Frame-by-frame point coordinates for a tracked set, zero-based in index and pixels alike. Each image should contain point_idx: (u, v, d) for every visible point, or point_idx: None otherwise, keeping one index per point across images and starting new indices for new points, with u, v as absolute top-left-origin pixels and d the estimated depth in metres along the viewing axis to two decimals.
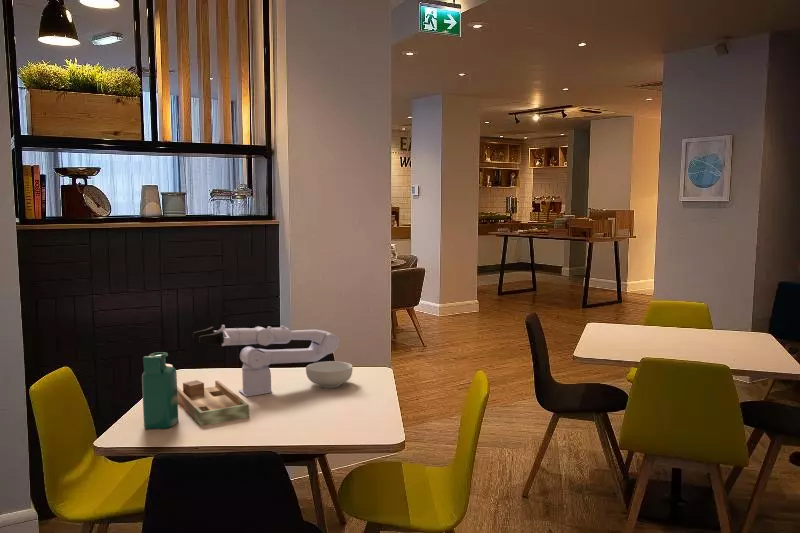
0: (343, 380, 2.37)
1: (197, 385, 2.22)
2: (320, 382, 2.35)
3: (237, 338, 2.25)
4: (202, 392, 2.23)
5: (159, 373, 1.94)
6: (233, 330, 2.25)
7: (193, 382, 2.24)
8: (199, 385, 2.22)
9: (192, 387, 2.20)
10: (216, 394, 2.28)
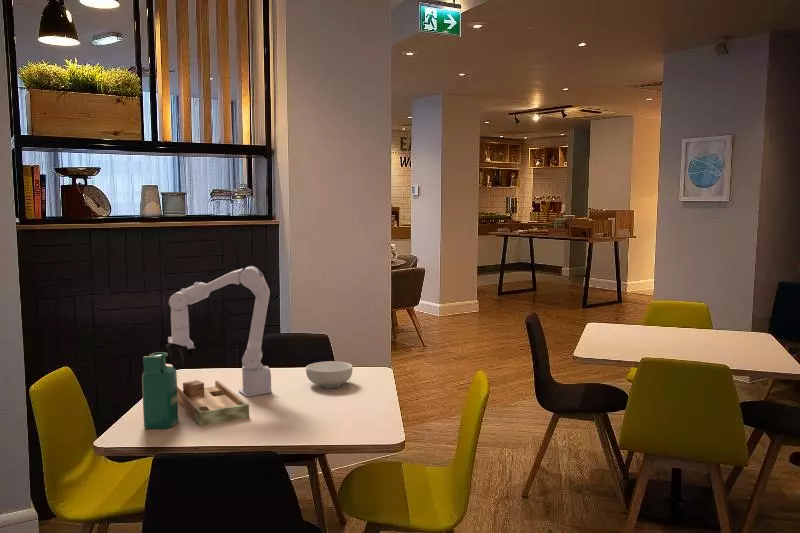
0: (343, 380, 2.37)
1: (197, 385, 2.22)
2: (320, 382, 2.35)
3: (184, 329, 2.25)
4: (202, 392, 2.23)
5: (159, 373, 1.94)
6: (176, 333, 2.25)
7: (193, 382, 2.24)
8: (199, 385, 2.22)
9: (192, 387, 2.20)
10: (216, 394, 2.28)
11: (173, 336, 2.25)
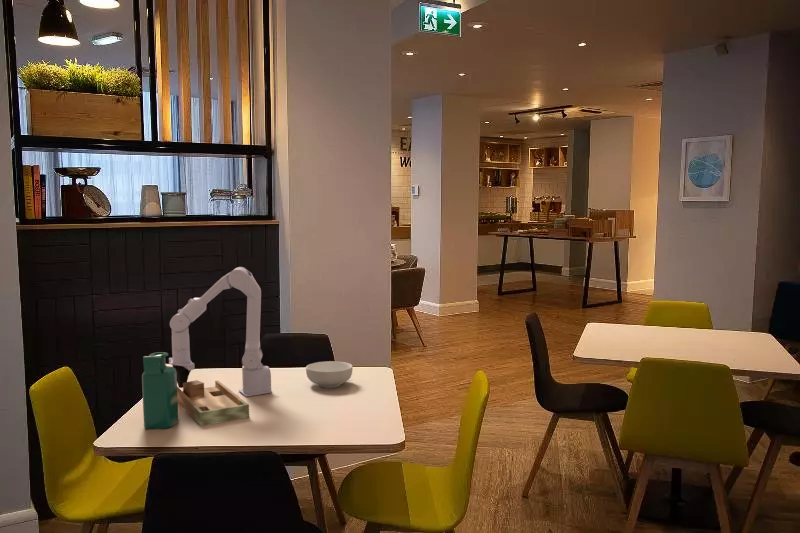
0: (343, 380, 2.37)
1: (197, 385, 2.22)
2: (320, 382, 2.35)
3: (185, 351, 2.26)
4: (202, 392, 2.23)
5: (159, 373, 1.94)
6: (177, 355, 2.25)
7: (193, 382, 2.24)
8: (199, 385, 2.22)
9: (192, 387, 2.20)
10: (216, 394, 2.28)
11: (174, 358, 2.26)
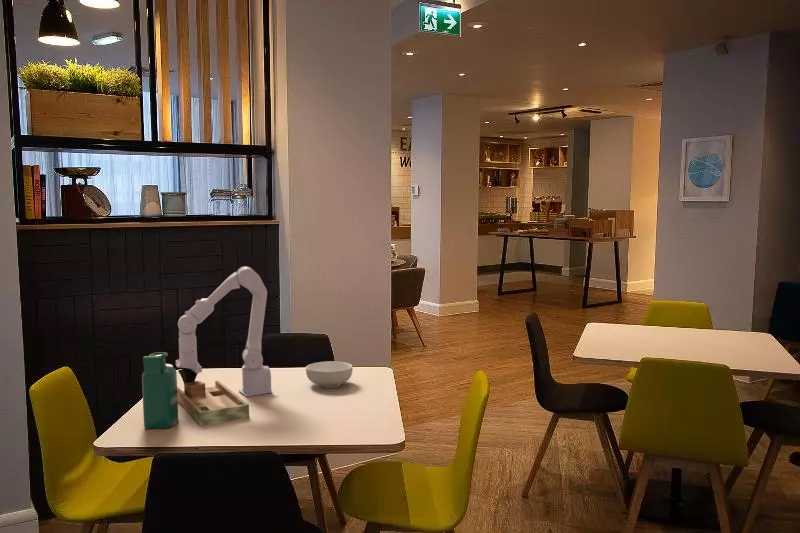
0: (343, 380, 2.37)
1: (198, 386, 2.21)
2: (320, 382, 2.35)
3: (192, 353, 2.23)
4: (203, 393, 2.23)
5: (159, 373, 1.94)
6: (184, 357, 2.22)
7: (194, 383, 2.23)
8: (200, 385, 2.21)
9: (193, 388, 2.20)
10: (216, 394, 2.28)
11: (181, 360, 2.22)
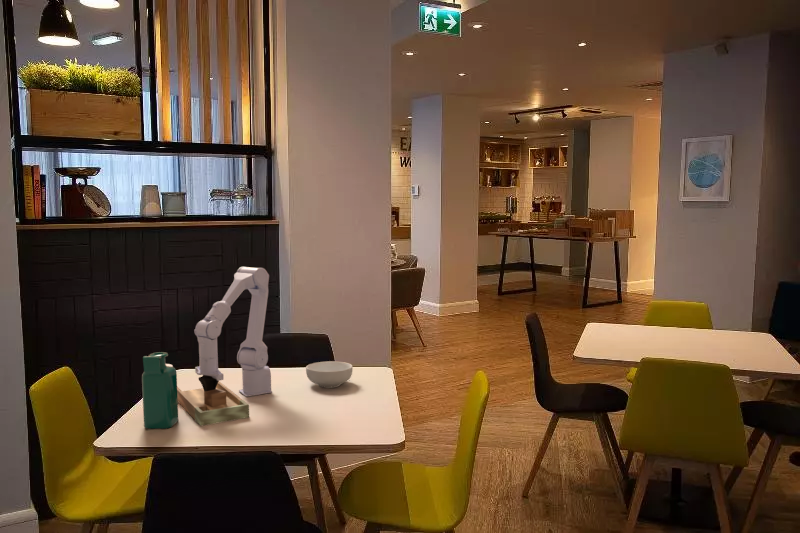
0: (343, 380, 2.37)
1: (219, 394, 2.11)
2: (320, 382, 2.35)
3: (213, 360, 2.13)
4: (224, 401, 2.13)
5: (159, 373, 1.94)
6: (204, 364, 2.12)
7: (215, 391, 2.13)
8: (221, 393, 2.12)
9: (213, 396, 2.10)
10: None
11: (201, 367, 2.13)
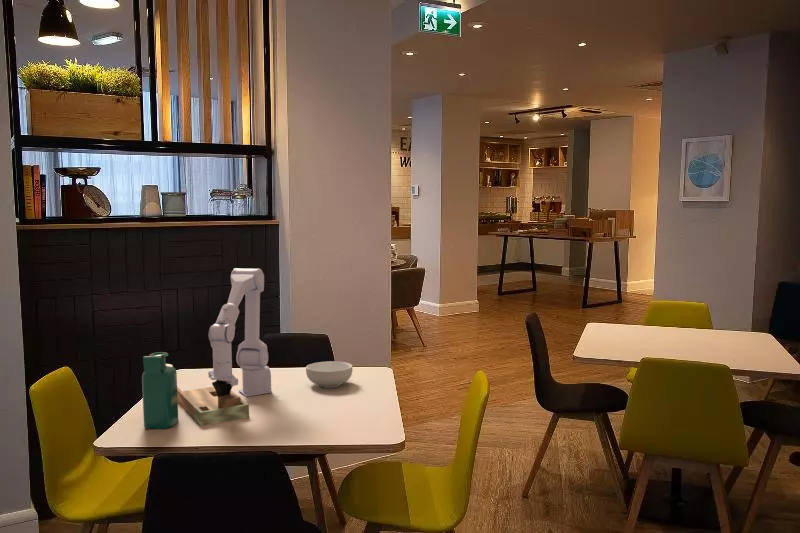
0: (343, 380, 2.37)
1: (233, 399, 2.05)
2: (320, 382, 2.35)
3: (227, 364, 2.07)
4: None
5: (159, 373, 1.94)
6: (218, 369, 2.06)
7: (229, 396, 2.08)
8: (235, 399, 2.06)
9: (228, 402, 2.04)
10: (216, 394, 2.28)
11: (215, 372, 2.07)
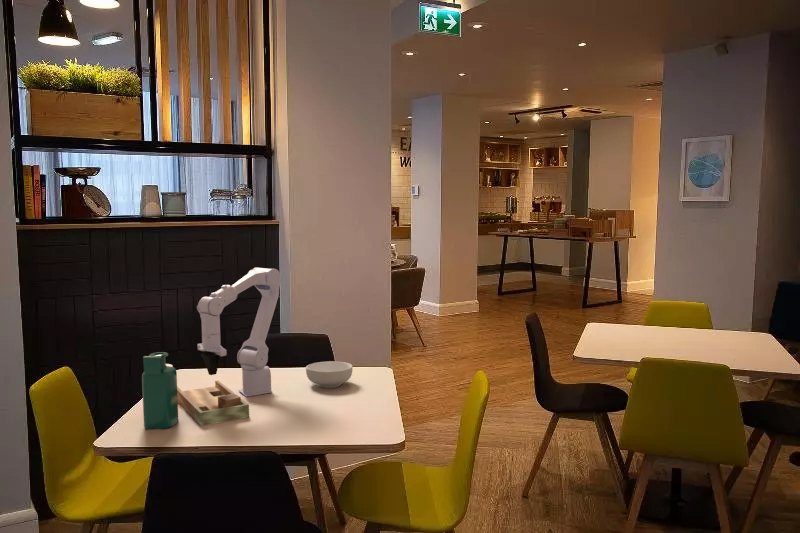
0: (343, 380, 2.37)
1: (233, 399, 2.05)
2: (320, 382, 2.35)
3: (216, 336, 2.14)
4: None
5: (159, 373, 1.94)
6: (207, 340, 2.14)
7: (229, 396, 2.08)
8: (235, 399, 2.06)
9: (228, 402, 2.04)
10: (216, 394, 2.28)
11: (204, 343, 2.14)
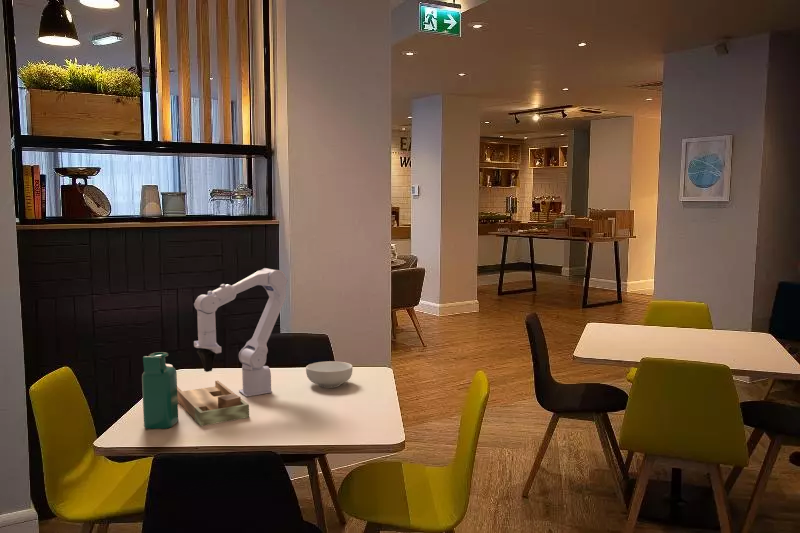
0: (343, 380, 2.37)
1: (233, 399, 2.05)
2: (320, 382, 2.35)
3: (211, 333, 2.18)
4: None
5: (159, 373, 1.94)
6: (203, 337, 2.18)
7: (229, 396, 2.08)
8: (235, 399, 2.06)
9: (228, 402, 2.04)
10: (216, 394, 2.28)
11: (200, 340, 2.18)
